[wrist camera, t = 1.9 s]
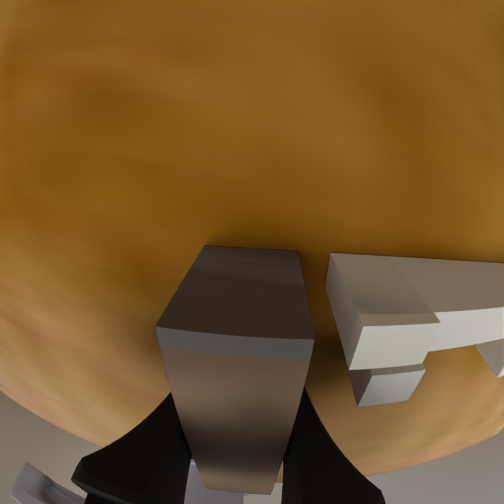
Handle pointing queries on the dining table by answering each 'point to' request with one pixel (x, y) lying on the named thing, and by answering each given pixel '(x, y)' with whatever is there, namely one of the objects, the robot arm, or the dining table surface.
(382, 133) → the dining table surface
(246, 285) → the block
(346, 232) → the dining table surface
